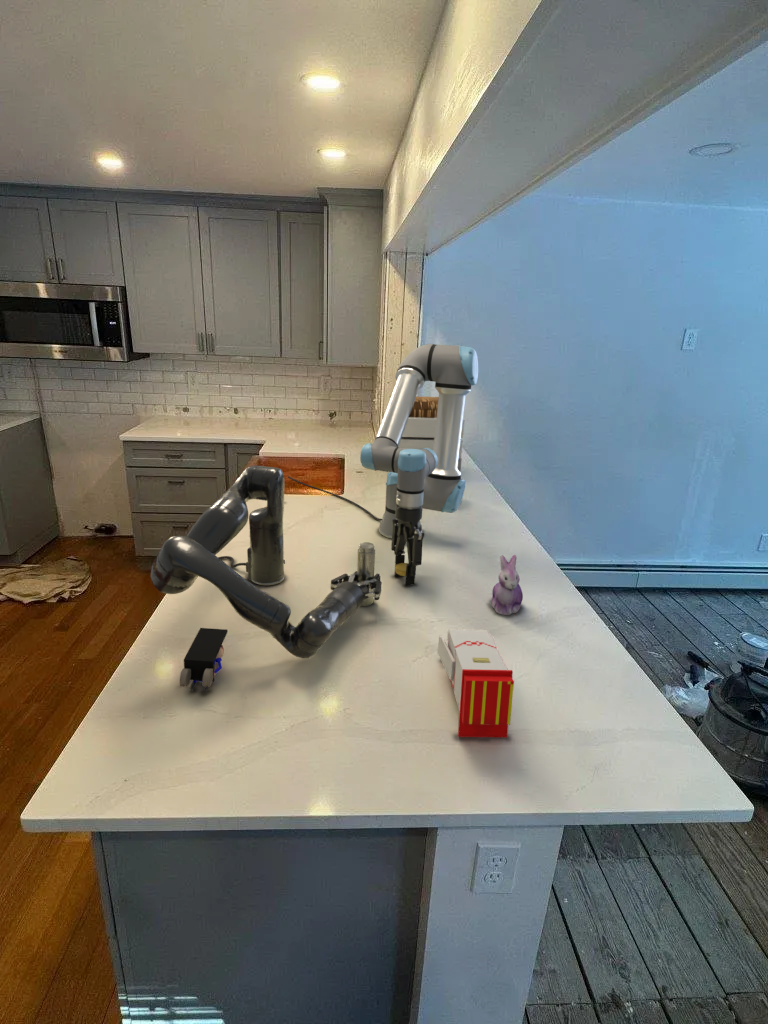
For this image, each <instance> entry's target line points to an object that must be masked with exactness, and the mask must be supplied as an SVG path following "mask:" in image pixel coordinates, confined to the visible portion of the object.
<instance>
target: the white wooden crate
mask: <svg viewBox="0 0 768 1024" xmlns="http://www.w3.org/2000/svg"><path fill="white" fill-rule="evenodd" d="M438 399H439V396H418V395H417V396H416V398H415V401H414V404H413V407H412V410H411V412H410V415H409V418H408V421H407V424H406V426H405V429H404V432H403V435H402V438H401V440H400V443H399V446H398V447H399V448H406V449H418V450H419V449H422V448H429V449H431V450H433V448H434V438H435V429H436V419H437V409H438ZM464 429H465V419H464V418H463V422H462V431H461V440H460V449H459V457H458V466H457V468H458V470H459V471H460V473H461V472H462V461H463V460H462V453H463V442H464V441H463V440H462V439H463V438H464V431H465V430H464ZM461 474H462V473H461Z"/></svg>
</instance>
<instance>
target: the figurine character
mask: <svg viewBox="0 0 768 1024" xmlns="http://www.w3.org/2000/svg"><path fill="white" fill-rule="evenodd" d="M227 634H228V629H223V628H211V627H200V628H199V630H198V631H197V633H196V635H195V637H194V639H193V641H192V642H191V644H190V647H189V648H188V650H187V653H186V654H185V656H184V658H183V668H182V670H181V672H180V675H179V682H178V684H179V686H180V687H186V688H188V687H189V685H190V683H191V685H190V687H189V690H190V692H192V691H194V690H195V688H196V685H197V682H198V683H202V687H204V689H203V691H204V692H206V691H208V690H209V688H210V687H212V684H213V682H215V676H216V675H217V674H218V673H219V672H220V671H221V670H222V668H223V666H222V661H223V659H222V658H223V656H224V654H225V648H224V645H223V643H224V641H225V639H226V636H227ZM216 663H217V667H216V668H215V665H216ZM191 681H192V682H191Z"/></svg>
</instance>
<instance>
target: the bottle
mask: <svg viewBox="0 0 768 1024" xmlns="http://www.w3.org/2000/svg"><path fill="white" fill-rule="evenodd" d="M375 562H376V549H375V544H374V543H372V542H368V541H367V542H366V541H365V542H361V543H360V544H359V545H358V549H357V562H356V563H357V565H356V566H357V567H356V571H357V582H359V583H362V582H364V581H366V580H368V581H369V580H371V579H372V578H373V577H374V576H375V564H376V563H375ZM373 603H374V597H368V598H367V599H365V600H364V601H363V602H362V604H361V605H360V606H363V607H367V606H370V605H373Z"/></svg>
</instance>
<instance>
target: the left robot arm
mask: <svg viewBox="0 0 768 1024" xmlns="http://www.w3.org/2000/svg"><path fill="white" fill-rule="evenodd" d="M285 480H286V479H285V474H284V471H283V470H282V469H281V468H279V467H275V466H264V465H250V466H248V467H246V468H245V469H244V470H243V471H242V473H241V474H240V475H239V476H238V478H237V479H236V480H235V481H234V482H233V483H232V485H231V486H230V487H229V488H228V489H227V490H226V491H225V492H224V493H223V494H222V495H221V496H220V497H219V498H218V499H217V500H215V501H214V502H213V503H212V504H210V506H209V507H207V508H206V509H205V510H204V511H203V513H202V514H201V515H200V516H199V518H198V519H197V521H196V522H194V524H193V525H192V527H191V529H190V530H189V532H188V533H187V535H173V536H170V537H169V538H168V539H167V538H166V540H165V541H164V543H163V544H162V546H161V547H160V549H159V550H158V553H157V555H156V556H155V558H154V560H153V562H152V564H151V567H150V573H149V575H150V576H149V577H150V581H151V583H152V585H153V587H154V588H155V589H156V590H157V591H159V592H160V593H161V594H165V595H178V594H181V593H184V592H185V591H187V590H189V589H190V588H191V587H192V586H193V585H194V584H195V582H196V580H198V577H200V578H201V579H203V580H206V581H207V582H209V583H211V584H212V585H213V586H214V587H215V588H217V590H218V591H219V592H221V594H222V595H223V596H224V598H226V600H227V601H228V603H229V604H230V605H231V607H232V608H233V610H234V611H235V612H236V613H237V614H238V615H239V616H240V617H241V618H242V619H244V620H245V621H246V622H249V623H250V624H252V625H254V626H256V627H258V628H259V629H261V630H263V631H265V632H267V633H268V634H270V635H271V637H273V638H274V639H275V640H276V642H278V643H279V644H280V646H282V647H283V648H284V649H285V650H286V652H288V653H290V654H291V655H292V656H294V657H296V658H299V659H310V658H312V657H313V656H314V655H316V654H317V652H318V651H319V650H320V649H321V648H322V646H323V645H324V644H325V643H326V642H327V641H328V640H329V639H330V637H331V636H332V635H333V634H334V632H335V631H337V630H338V629H339V628H340V627H341V626H342V625H343V624H344V623H345V622H346V621H348V620H349V619H350V617H352V615H353V614H355V612H357V610H358V609H359V608H360V607H361V606H362V605H361V604H362V602H363V601H364V600H365V599H367V598H368V597H373V600H374V601H380V598H381V594H382V583H383V582H382V581H381V578H382V577H381V574H380V573H376V574H374V577H373V578H372V579H371V580H369V581H368V580H366V581H364V582H362V583H359V582H357V570H355V571H354V572H353V573H351V574H350V575H348V573H343V574H341V575H339V576H337V577H334V578H333V579H331V580H330V590H331V592H329V593H328V594H327V595H326V596H325V598H324V599H323V600H322V601H321V602H320V603H319V604H318V605H317V606H316V607H315V608H313V609H311V610H310V611H309V612H308V613H306V615H304V617H302V619H301V620H300V621H299V622H298V624H297V625H296V626H295V625H293V624H292V623H291V621H290V617H291V616H292V608H291V607H290V605H288V604H287V603H286V602H284V601H281V600H280V599H278V598H277V597H275V596H273V595H271V594H270V593H268V592H265V591H264V590H262V589H261V588H259V587H258V586H274V585H278V584H280V583H281V582H283V581H284V580H285V564H286V560H285V556H284V555H285V551H284V549H285V548H284V514H285V513H284V512H285V489H286V488H285V485H286V484H285V483H286V482H285ZM250 500H257V501H265V502H266V506H264V507H259V508H257V509H254V510H252V511H251V512H250V513H249V509H248V505H247V502H249V501H250ZM247 523H248V524H249V525H248V526H249V528H248V529H249V547H248V548H247V550H246V556H247V561H246V562H238V563H235V564H234V562H235V560H234V557H232V556H229V555H224V556H217V554H218V553H220V552H221V551H222V550H223V549H224V548H225V547H226V546H227V545H228V544H229V543H230V542H231V541H232V540H234V539H235V537H237V535H239V533H241V531H242V530H243V529H244V527H245V526H247ZM223 559H224V560H225V559H227V560H230V565H228V564H227V563H226V562H225V561H223ZM240 566H245V572H246V573H247V577H248V578H247V579H248V580H247V579H246V578H244V577H243V576H242V575H241V574H240V573H238V572H237V571H236V570H234V569H233V568H237V567H240ZM232 567H233V568H232ZM249 580H250V581H251V582H252V583H251V582H250V581H249ZM254 584H256V585H258V586H256V585H254Z"/></svg>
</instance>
